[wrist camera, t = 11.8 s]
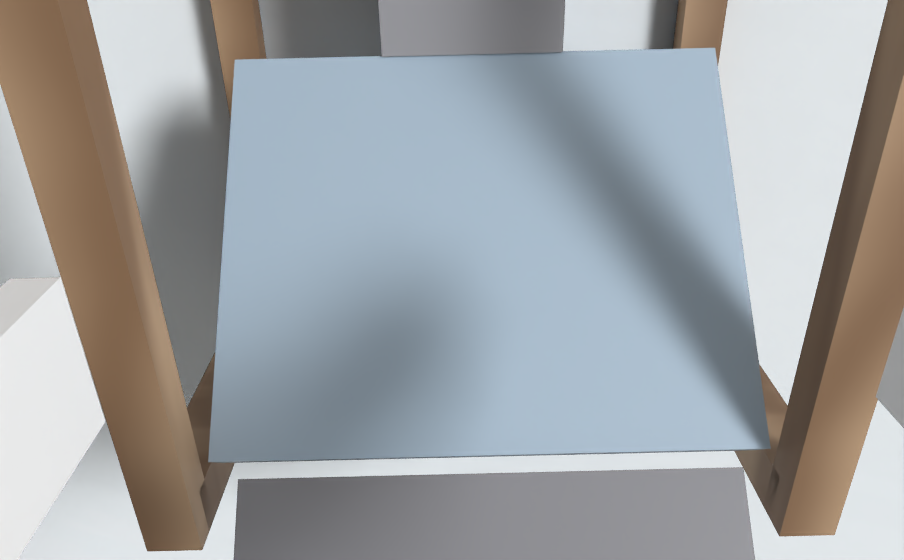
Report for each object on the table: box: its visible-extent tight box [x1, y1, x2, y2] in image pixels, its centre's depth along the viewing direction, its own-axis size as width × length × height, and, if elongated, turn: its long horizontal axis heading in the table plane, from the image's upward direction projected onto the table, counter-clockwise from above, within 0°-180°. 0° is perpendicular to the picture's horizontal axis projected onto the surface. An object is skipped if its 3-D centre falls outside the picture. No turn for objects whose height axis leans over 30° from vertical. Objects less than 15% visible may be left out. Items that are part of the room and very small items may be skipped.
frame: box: [0, 0, 904, 551], centre depth 23 cm, size 20×20×16 cm
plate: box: [208, 48, 771, 560], centre depth 22 cm, size 16×17×2 cm
